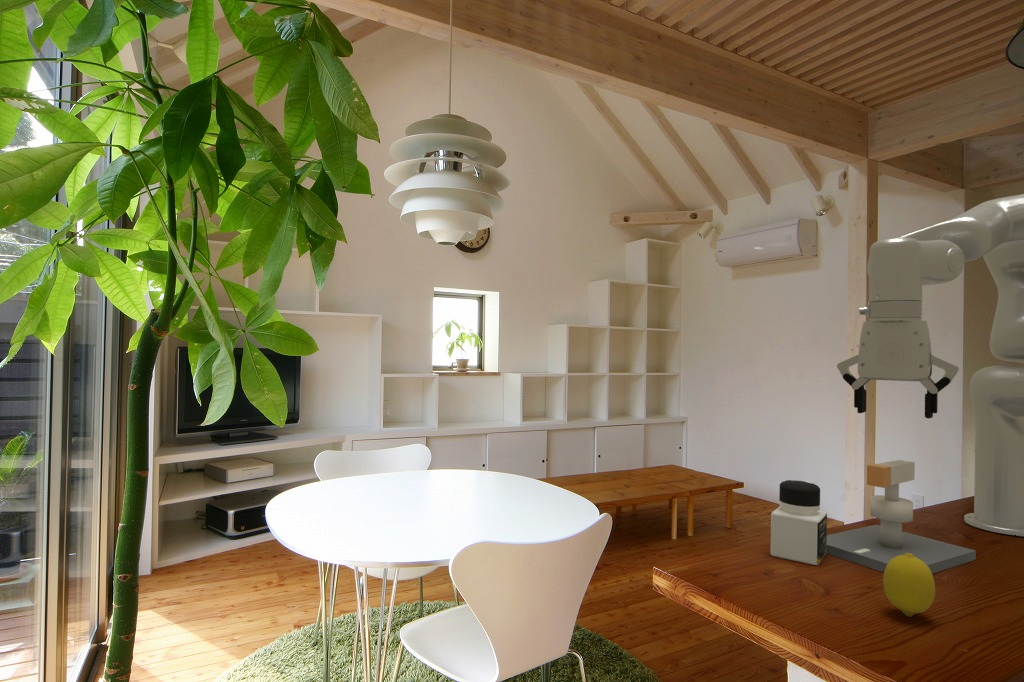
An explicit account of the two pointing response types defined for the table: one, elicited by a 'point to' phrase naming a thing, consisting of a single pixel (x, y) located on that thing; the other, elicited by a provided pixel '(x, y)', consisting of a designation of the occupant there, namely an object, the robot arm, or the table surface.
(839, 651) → the table surface
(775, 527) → the medicine bottle
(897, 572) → the lemon
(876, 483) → the grey and orange blocks
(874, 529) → the coupling base
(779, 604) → the table surface
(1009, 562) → the table surface
